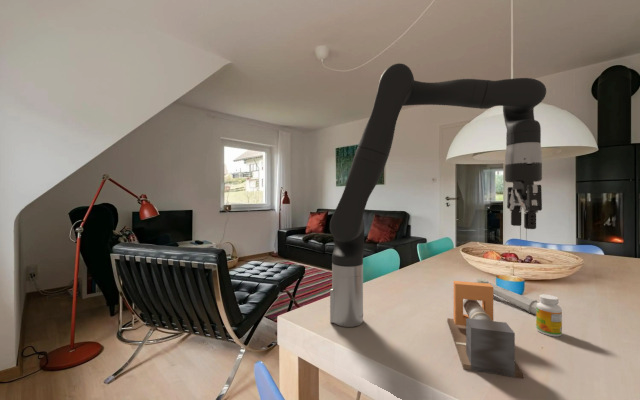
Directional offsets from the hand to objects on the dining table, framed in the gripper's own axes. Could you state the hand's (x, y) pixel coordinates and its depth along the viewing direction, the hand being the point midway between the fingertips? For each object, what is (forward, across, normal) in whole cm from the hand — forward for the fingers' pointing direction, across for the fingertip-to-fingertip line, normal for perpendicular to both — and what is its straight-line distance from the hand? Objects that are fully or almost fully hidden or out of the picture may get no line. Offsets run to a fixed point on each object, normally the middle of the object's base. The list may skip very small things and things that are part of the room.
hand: (522, 227), depth 70 cm
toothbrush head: (+30, -30, +6) cm, 42 cm away
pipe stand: (+29, +4, -11) cm, 31 cm away
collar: (+27, -2, -11) cm, 29 cm away
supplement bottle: (+29, -9, +9) cm, 32 cm away
